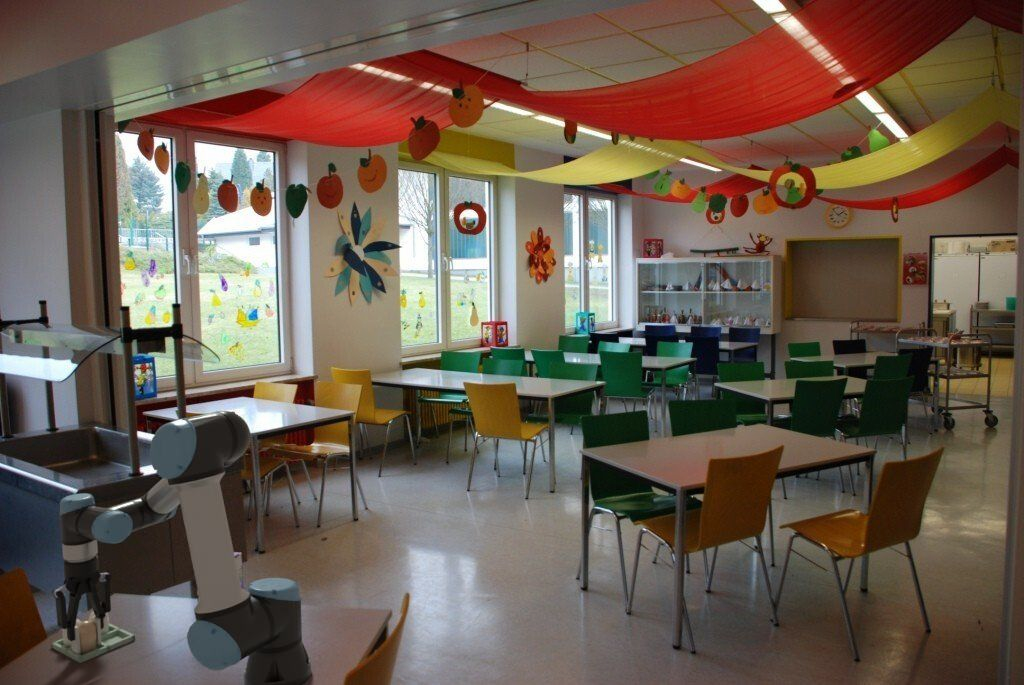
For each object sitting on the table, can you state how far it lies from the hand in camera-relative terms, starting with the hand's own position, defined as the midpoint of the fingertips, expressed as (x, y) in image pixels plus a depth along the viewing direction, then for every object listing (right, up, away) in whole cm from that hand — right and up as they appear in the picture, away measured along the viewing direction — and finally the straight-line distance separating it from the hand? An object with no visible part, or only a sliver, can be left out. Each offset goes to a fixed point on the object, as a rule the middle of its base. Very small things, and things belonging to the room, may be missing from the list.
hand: (86, 646), depth 195 cm
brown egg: (0, 0, 0) cm, 0 cm away
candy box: (+27, 0, +20) cm, 33 cm away
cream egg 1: (-5, -1, +4) cm, 7 cm away
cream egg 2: (-2, -1, +9) cm, 9 cm away
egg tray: (-1, -2, +5) cm, 5 cm away
